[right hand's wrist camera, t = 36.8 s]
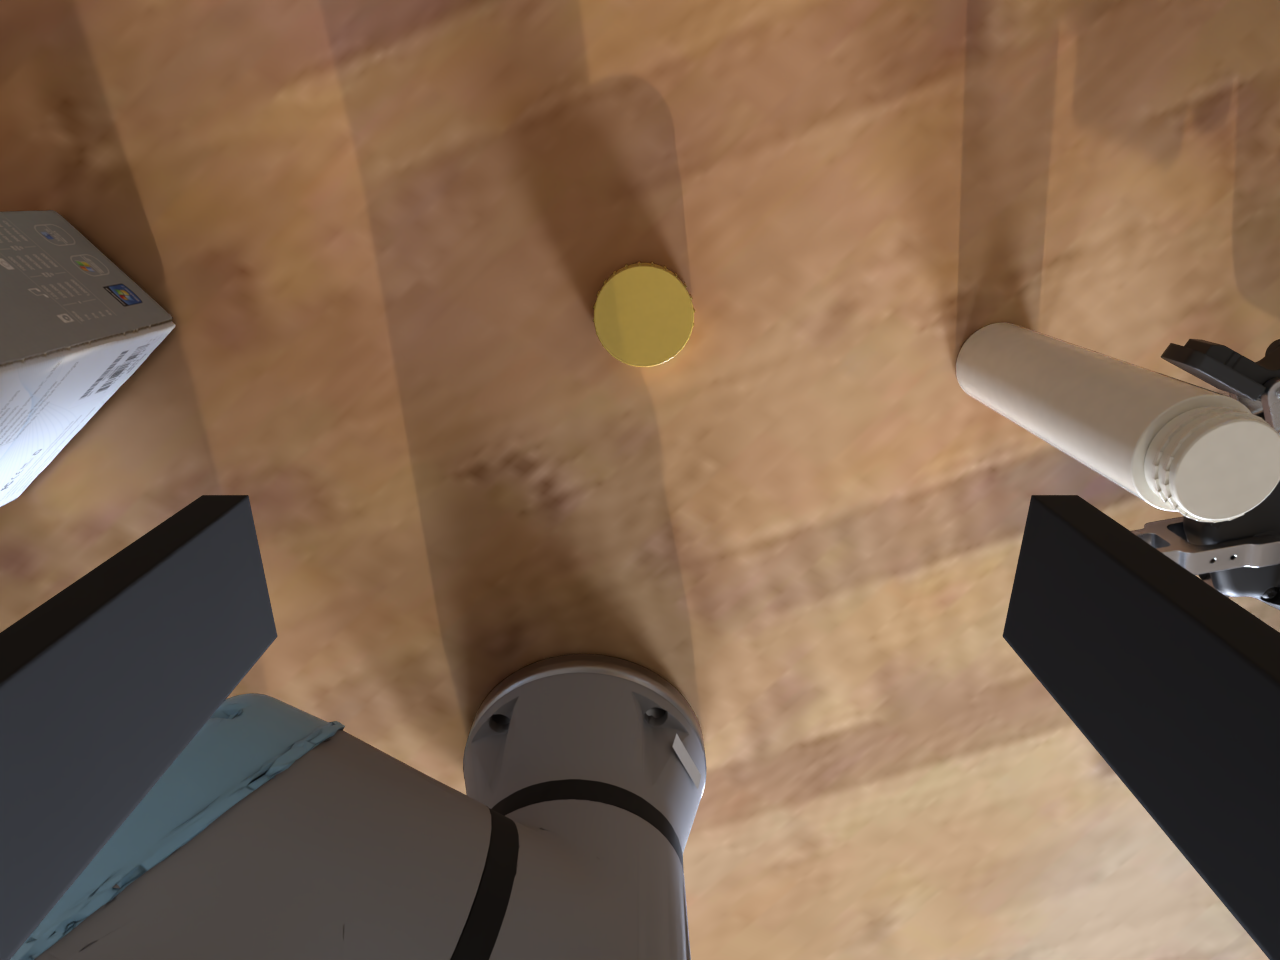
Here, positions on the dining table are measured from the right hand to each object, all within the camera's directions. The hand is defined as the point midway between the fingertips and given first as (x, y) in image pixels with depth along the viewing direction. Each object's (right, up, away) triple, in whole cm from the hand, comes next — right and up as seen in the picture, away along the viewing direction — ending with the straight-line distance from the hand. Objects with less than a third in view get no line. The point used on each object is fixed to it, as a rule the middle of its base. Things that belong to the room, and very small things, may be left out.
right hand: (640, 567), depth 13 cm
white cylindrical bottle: (+19, +8, +26) cm, 33 cm away
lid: (0, +10, +24) cm, 26 cm away
